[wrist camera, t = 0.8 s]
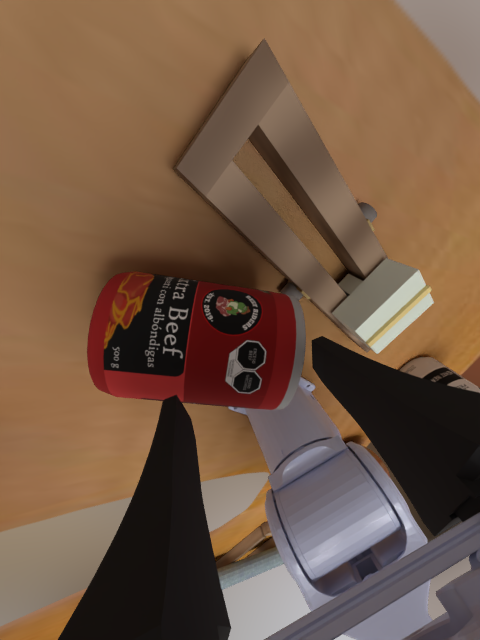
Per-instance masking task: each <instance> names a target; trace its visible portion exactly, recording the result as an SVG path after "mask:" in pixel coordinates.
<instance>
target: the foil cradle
mask: <svg viewBox="0 0 480 640" xmlns="http://www.w3.org/2000/svg"><path fill="white" fill-rule="evenodd" d="M268 535H272V533H271V530H270V527H269V524H268V522H264V523H263V524H262V525H261V526H259V527H258V528H257V529H256V530H254V531H253V532H252V533H251V534H249V535H248V536H247V537H246V538H245V539H243V540H242V541H241V542H240V543H239V544H237V545H236V546H235V547H234V548H232V549H231V550H230V551H229V552H228V553H226V554H225V555H224V556H223V557H222V558H220V559H219V560H218V561H217V562H216V566H217V569H218V568H221V567H224V566H226V565H229V564H231V563H234V562H235V561H237V560H238V559H239V558H240V557H242V556H243V555H244V554H245V553H247V552H248V551H249V550H250V549H252V548H253V547H254V546H255V545H257V544H258V543H259V542H260V541H262V540H263V539H264V538H265V537H266V536H268ZM273 547H276V544H275V542H274V539H273V537H271V538H270V539H269V540H267V541H266V542H265V543H264V544H262V545H261V546H260V547H259V548H257V549H256V550H255V551H254V552H252V553H251V554H250V555H249V556H247V557H250V556H252V555H255V554H258V553H260V552H263V551H266V550H268V549H271V548H273ZM247 557H246V558H247Z"/></svg>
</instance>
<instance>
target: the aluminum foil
mask: <svg viewBox="0 0 480 640" xmlns="http://www.w3.org/2000/svg"><path fill="white" fill-rule="evenodd" d="M282 564H284V562H283V560H282V558H281V556H280V554H279V551H278V549H277V547H273V548H271V549H268V550H266V551H263V552H260V553H258V554H255V555H252V556H250V557H247V558H245V559H242V560H239V561H237V562H234V563H231V564H229V565H226V566H224V567H221V568H218V569H217V571H218V575H219V580H220V584H221V588H222V590H223V589H225V588H227V587H230V586H232V585H235V584H237V583H239V582H242V581H244V580H246V579H249V578H251V577H254V576H256V575H258V574H261V573H263V572H265V571H268V570H270V569H272V568H275V567H277V566H280V565H282Z"/></svg>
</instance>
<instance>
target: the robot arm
mask: <svg viewBox="0 0 480 640" xmlns="http://www.w3.org/2000/svg"><path fill="white" fill-rule="evenodd" d="M312 361H313V369H314V370H315V372H316V373H317V375H318V376H319V378H320V379H321V381H322V382H323V383H324V385H325V386H326V387H327V388H328V389H329V391H330V392H331V393H332V394H333V395H334V396H335V398H336V399H337V400H338V401H339V402H340V403H341V404H342V406H343V407H344V408H345V409H346V410H347V411H348V412H349V414H350V415H351V416H352V417H353V418H354V419H355V421H356V422H357V423H358V424H359V426H360V427H361V428H362V430H363V431H364V432H365V434H366V435H367V437H368V438H369V439H370V441H371V442H372V443H373V445H374V446H375V448H376V449H377V451H378V452H379V453H380V455H381V456H382V458H383V459H384V461H385V462H386V464H387V465H388V467H389V468H390V470H391V471H392V473H393V474H394V476H395V477H396V479H397V480H398V482H399V484H400V485H401V487H402V488H403V490H404V491H405V493H406V494H407V496H408V498H409V499H410V501H411V503H412V504H413V506H414V508H415V509H416V511H417V512H418V514H419V516H420V517H421V519H422V521H423V523H424V524H425V525H426V526H427V528H428V529H429V530H430V531H431V533H432V534H433V535H434V536H436V535H438V534H440V533H441V532H443V531H445V530H447V529H448V528H450V527H452V526H453V525H455V524H457V523H459V522H460V521H462V523H461V524H459V525H457V526H456V527H454V528H452V529H450V530H449V531H447V532H445V533H444V534H442V535H440V536H439V537H437V538H435V539H434V540H432V541H430V542H428V543H427V538H426V537H425V535H424V534H423V532H422V531H421V529H420V528H419V526H418V524H417V523H416V521H415V520H414V518H413V516H412V515H411V513H410V510H409V508H408V506H407V504H406V502H405V500H404V498H403V497H402V495H401V493H400V492H399V490H398V489H397V487H396V486H395V484H394V483H393V482H392V480H391V479H390V477H389V476H388V475H387V473H386V472H385V471H384V469H383V468H382V467H381V466H380V464H379V463H378V462H377V461H376V459H375V458H374V457H373V456H372V455H371V454H370V453H369V452H368V451H367V450H366V449H365V448H364V447H363V446H361V445H359V444H356V443H354V442H352V441H350V442H348V443H346V445H345V443H344V442H343V440H342V438H341V435H340V432H339V430H338V428H337V427H336V425H335V424H334V423H333V421H332V420H331V419H330V417H329V416H328V415H327V413H326V412H325V411H324V409H323V408H322V407H321V405H320V404H319V402H318V401H317V400H316V398H315V397H314V396H313V394H312V393H311V392H312V391H313V390H314V389H315V385H314V384H313V383H311V382H309V381H308V380H306V379H304V378H303V377H300V381H299V384H298V387H297V390H296V392H295V394H294V397H293V399H292V400H291V402H290V403H289V405H288V406H286V407H285V408H284V409H281V410H278V409H274V410H265V409H249V408H238V407H228V408H229V409H230V410H233V411H236V412H239V413H242V414H245V415H247V416H248V418H249V420H250V423H251V425H252V428H253V430H254V433H255V435H256V438H257V440H258V443H259V445H260V448H261V450H262V453H263V455H264V458H265V460H266V463H267V465H268V468H269V470H270V473H271V475H270V476H268V479H269V482H270V485H271V487H272V488H271V489H270V490H268V491H267V494H266V501H265V511H266V516H267V520H268V524H269V527H270V530H271V533H272V536H273V539H274V542H275V544H276V547H277V549H278V551H279V554H280V556H281V558H282V560H283V562H284V564H285V566H286V568H287V570H288V572H289V573H290V575H291V576H292V578H293V579H294V580H295V581H296V583H297V585H298V587H299V588H300V590H301V592H302V594H303V596H304V598H305V600H306V602H307V604H308V606H309V609H310V610H311V611H312V612H310V613H308V614H307V615H305V616H303V617H302V618H300V619H298V620H297V621H295V622H293V623H291V624H290V625H288V626H287V627H285V628H283V629H281V630H280V631H278V632H276V633H275V634H273V635H271V636H269V637H268V638H266V639H264V640H334V639H335V638H337V637H339V636H340V635H342V634H344V635H346V636H349V637H351V638H354V639H356V640H480V393H479V392H474V391H470V390H465V389H461V388H457V387H453V386H449V385H445V384H441V383H437V382H434V381H430V380H427V379H423V378H420V377H417V376H414V375H411V374H408V373H405V372H402V371H399V370H396V369H394V368H391V367H388V366H386V365H383V364H381V363H378V362H376V361H374V360H371V359H369V358H367V357H364V356H362V355H360V354H358V353H356V352H354V351H351V350H349V349H347V348H345V347H343V346H341V345H339V344H337V343H335V342H333V341H331V340H329V339H327V338H325V337H323V336H321V337H319V338H316V339H314V340H312ZM469 555H470V556H469ZM467 556H469V561H470V564H471V570H470V571H468V572H466V573H464V574H463V575H461V576H459V577H457V578H456V579H454V580H452V581H451V582H449V583H448V584H447V585H445V586H444V587H442V588H441V589H439V590H438V591H436V596H437V597H438V599H439V600H440V601H441V603H442V605H443V606H444V608H445V609H446V611H447V612H446V613H445V614H443V615H441V616H439V617H438V618H436V619H435V620H433V621H432V619H431V617H430V616H429V614H428V609H427V608H428V595H429V587H430V580H431V579H432V578H434V577H435V576H437V575H439V574H440V573H442V572H443V571H445V570H447V569H448V568H450V567H451V566H453V565H454V564H456V563H458V562H459V561H461V560H463V559H464V558H466V557H467ZM230 629H231V626H230V622H229V618H228V613H227V609H226V605H225V601H224V597H223V593H222V588H221V584H220V580H219V575H218V571H217V566H216V562H215V558H214V553H213V548H212V544H211V539H210V534H209V530H208V525H207V520H206V515H205V509H204V504H203V499H202V492H201V483H200V474H199V465H198V456H197V447H196V439H195V434H194V430H193V425H192V421H191V418H190V416H189V415H188V413H187V411H186V409H185V408H184V406H183V404H182V403H181V401H180V399H179V398H178V396H177V395H174V396H172V397H169V398H167V399H164V401H163V403H162V408H161V412H160V416H159V420H158V424H157V428H156V432H155V435H154V438H153V442H152V445H151V449H150V452H149V455H148V458H147V460H146V463H145V466H144V469H143V472H142V475H141V477H140V480H139V483H138V485H137V488H136V490H135V493H134V495H133V497H132V500H131V503H130V504H129V507H128V509H127V511H126V513H125V516H124V518H123V520H122V522H121V524H120V526H119V529H118V531H117V533H116V535H115V537H114V539H113V541H112V543H111V545H110V547H109V549H108V551H107V553H106V555H105V556H104V558H103V560H102V562H101V564H100V566H99V568H98V570H97V572H96V574H95V576H94V577H93V579H92V581H91V583H90V585H89V586H88V588H87V590H86V592H85V594H84V595H83V597H82V599H81V600H80V602H79V604H78V606H77V607H76V609H75V611H74V613H73V614H72V616H71V618H70V619H69V621H68V623H67V625H66V626H65V628H64V630H63V632H62V633H61V635H60V637H59V638H58V640H228V637H229V633H230Z"/></svg>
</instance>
